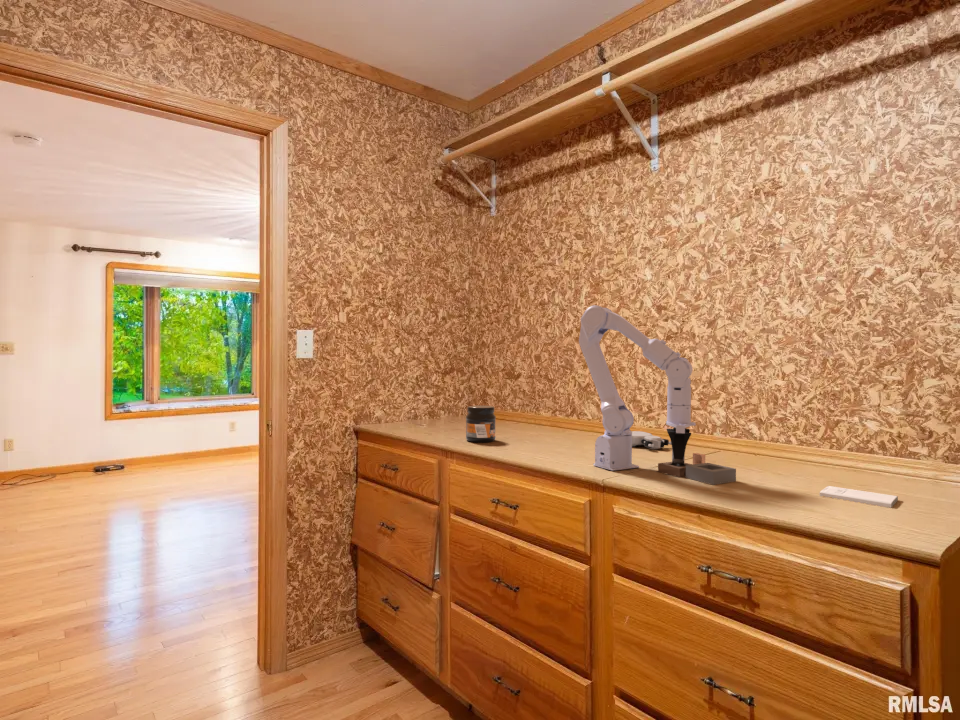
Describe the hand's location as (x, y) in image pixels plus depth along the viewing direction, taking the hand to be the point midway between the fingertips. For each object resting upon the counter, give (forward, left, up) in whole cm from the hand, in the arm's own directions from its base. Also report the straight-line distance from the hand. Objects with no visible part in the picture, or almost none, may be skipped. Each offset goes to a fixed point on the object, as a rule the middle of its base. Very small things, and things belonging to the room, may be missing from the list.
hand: (678, 457), depth 137 cm
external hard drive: (+16, -34, -5) cm, 38 cm away
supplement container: (-21, +68, -4) cm, 72 cm away
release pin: (+5, 0, -4) cm, 6 cm away
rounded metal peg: (0, 0, -3) cm, 3 cm away
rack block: (+2, -9, -4) cm, 10 cm away
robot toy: (+22, +33, -4) cm, 40 cm away
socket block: (0, 0, -4) cm, 4 cm away
